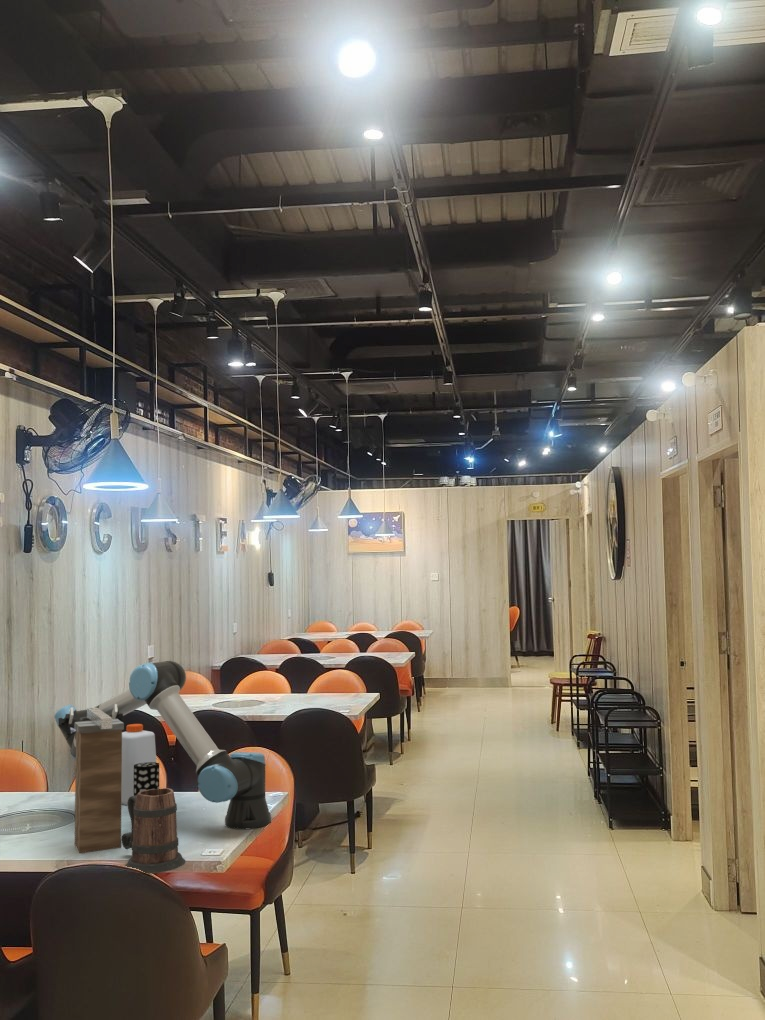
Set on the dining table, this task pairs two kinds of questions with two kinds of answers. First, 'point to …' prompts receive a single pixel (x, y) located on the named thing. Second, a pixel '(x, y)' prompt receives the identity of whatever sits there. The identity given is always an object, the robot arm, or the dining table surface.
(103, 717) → the bar
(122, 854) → the dining table surface
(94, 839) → the column
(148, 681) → the robot arm
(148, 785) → the white-spotted black cylinder
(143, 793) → the tankard
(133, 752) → the plastic bottle
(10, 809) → the dining table surface
